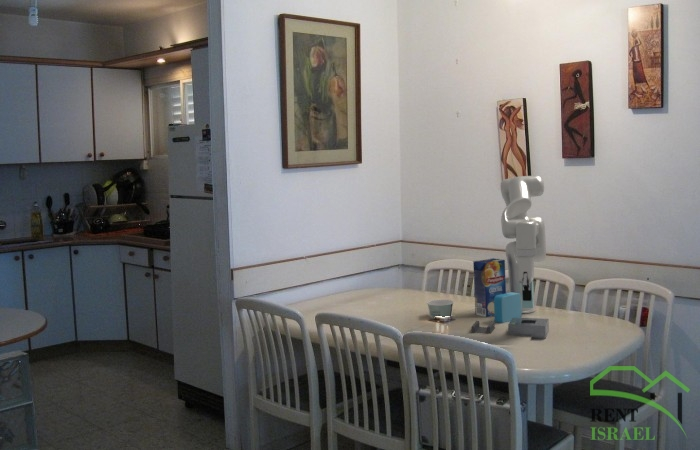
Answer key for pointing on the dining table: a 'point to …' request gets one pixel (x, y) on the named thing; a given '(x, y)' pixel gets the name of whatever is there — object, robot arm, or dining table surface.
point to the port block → (529, 327)
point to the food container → (440, 308)
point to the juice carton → (488, 284)
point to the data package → (507, 307)
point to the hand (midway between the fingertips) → (527, 298)
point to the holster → (483, 328)
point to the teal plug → (531, 303)
